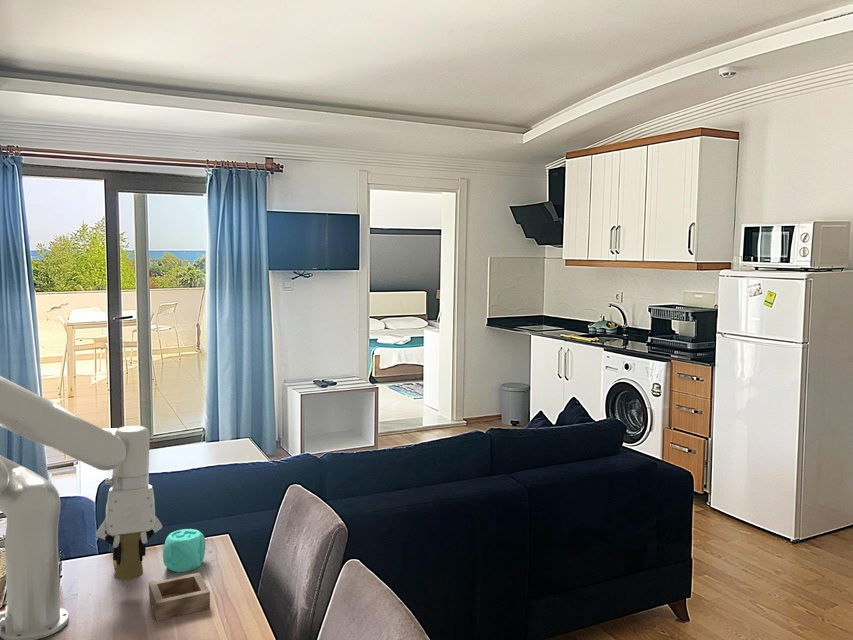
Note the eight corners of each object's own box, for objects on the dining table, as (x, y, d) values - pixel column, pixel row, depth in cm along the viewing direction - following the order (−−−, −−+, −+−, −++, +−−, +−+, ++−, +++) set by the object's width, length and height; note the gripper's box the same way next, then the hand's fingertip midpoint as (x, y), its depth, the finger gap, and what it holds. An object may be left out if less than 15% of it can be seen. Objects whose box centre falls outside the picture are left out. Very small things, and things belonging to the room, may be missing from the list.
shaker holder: (156, 620, 147) (156, 603, 147) (149, 599, 157) (148, 582, 156) (210, 608, 153) (209, 591, 152) (199, 588, 162) (199, 572, 162)
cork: (132, 581, 155) (133, 532, 154) (108, 578, 156) (109, 530, 155) (148, 571, 160) (149, 524, 160) (125, 567, 162) (126, 521, 161)
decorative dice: (195, 572, 170) (195, 541, 170) (163, 572, 170) (162, 540, 170) (205, 559, 178) (205, 528, 178) (174, 558, 178) (174, 528, 178)
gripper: (91, 490, 150) (89, 573, 151) (172, 481, 158) (170, 561, 159) (88, 481, 156) (87, 561, 157) (166, 473, 165) (165, 549, 165)
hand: (129, 560), depth 158 cm, fingers closed on cork, 4 cm apart
